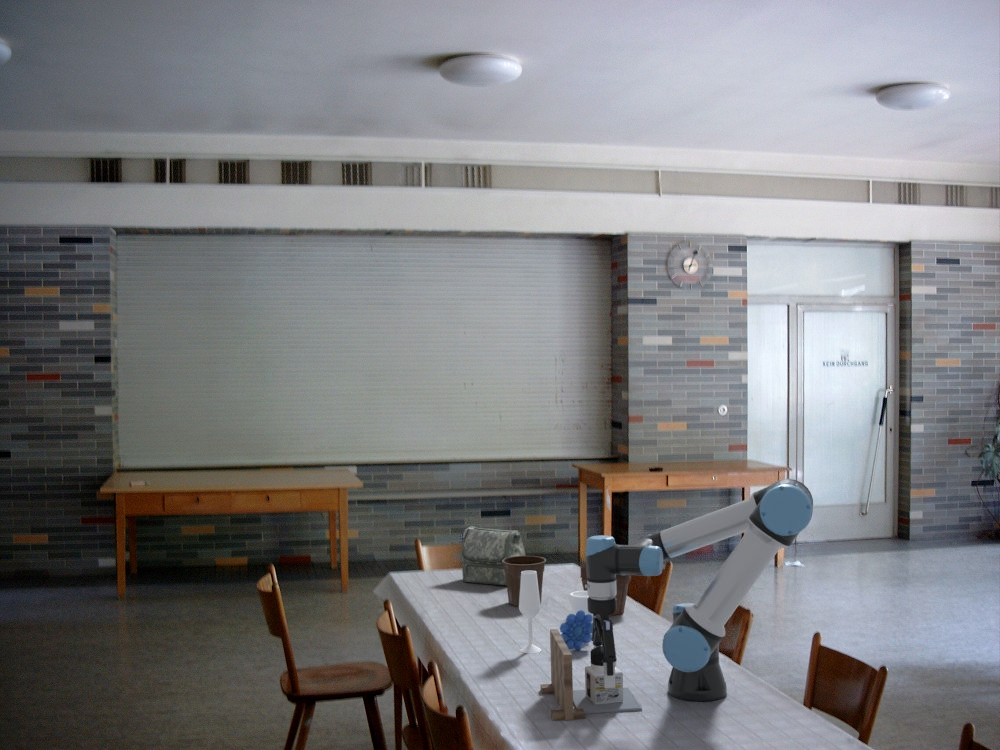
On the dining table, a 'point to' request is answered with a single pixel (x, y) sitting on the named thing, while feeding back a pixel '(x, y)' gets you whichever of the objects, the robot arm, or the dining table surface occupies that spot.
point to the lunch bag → (488, 554)
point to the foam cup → (579, 602)
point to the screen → (561, 679)
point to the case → (621, 588)
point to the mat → (589, 707)
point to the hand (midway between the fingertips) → (604, 679)
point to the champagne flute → (529, 604)
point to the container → (601, 681)
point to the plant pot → (513, 574)
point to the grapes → (577, 630)
